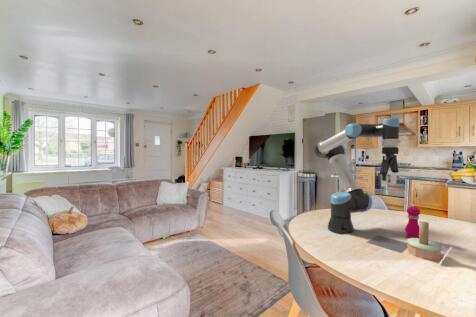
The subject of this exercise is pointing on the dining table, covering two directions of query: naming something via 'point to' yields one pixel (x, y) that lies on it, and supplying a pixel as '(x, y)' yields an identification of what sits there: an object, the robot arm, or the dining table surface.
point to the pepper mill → (412, 222)
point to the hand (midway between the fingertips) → (389, 185)
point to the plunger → (424, 239)
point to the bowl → (424, 253)
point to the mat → (388, 243)
